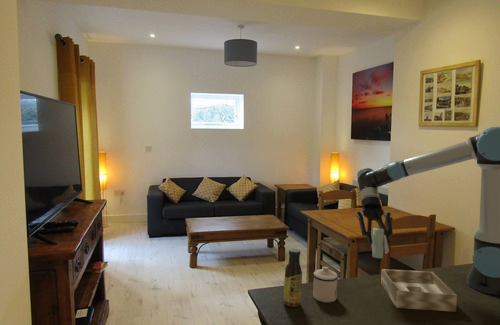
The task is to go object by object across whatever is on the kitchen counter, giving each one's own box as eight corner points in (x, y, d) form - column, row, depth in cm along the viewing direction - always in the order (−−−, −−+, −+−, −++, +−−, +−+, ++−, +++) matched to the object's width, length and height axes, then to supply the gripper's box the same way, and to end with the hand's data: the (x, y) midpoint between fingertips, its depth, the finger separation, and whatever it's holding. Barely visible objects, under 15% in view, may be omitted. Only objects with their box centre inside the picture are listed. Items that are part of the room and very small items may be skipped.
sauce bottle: (290, 310, 119) (292, 254, 117) (279, 302, 124) (281, 249, 123) (304, 305, 123) (306, 251, 121) (293, 298, 128) (295, 246, 126)
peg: (381, 254, 136) (382, 227, 135) (384, 258, 132) (385, 230, 131) (370, 254, 136) (371, 227, 135) (373, 258, 132) (374, 230, 131)
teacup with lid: (340, 302, 125) (342, 272, 124) (316, 303, 124) (317, 272, 123) (329, 287, 137) (330, 259, 136) (307, 288, 136) (308, 260, 135)
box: (431, 286, 140) (432, 271, 139) (455, 311, 120) (457, 295, 119) (381, 283, 142) (381, 269, 141) (396, 307, 122) (397, 291, 121)
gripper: (389, 205, 147) (401, 256, 132) (348, 205, 149) (356, 255, 134) (393, 195, 141) (406, 248, 126) (351, 195, 143) (359, 246, 128)
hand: (380, 251), depth 130 cm, fingers closed on peg, 4 cm apart
